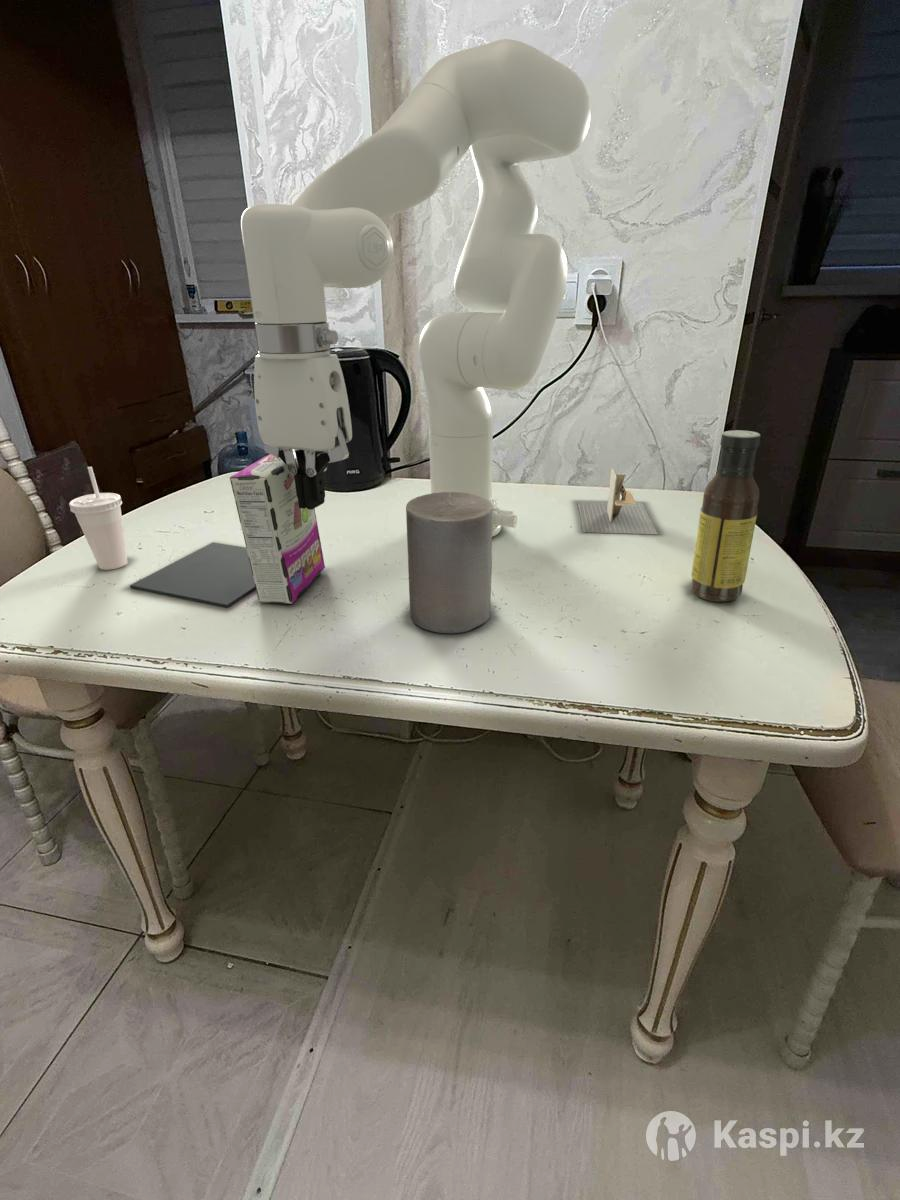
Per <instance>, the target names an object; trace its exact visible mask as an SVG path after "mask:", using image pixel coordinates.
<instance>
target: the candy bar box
mask: <svg viewBox="0 0 900 1200" xmlns="http://www.w3.org/2000/svg"><path fill="white" fill-rule="evenodd" d="M229 481H230V485H231V489H232V493H233V497H234V502H235V506H236V511H237V514H238V518H239V524H240V528H241V531H242V535H243V539H244V544H245V548H246V549H247V553H248V556H249V561H250V566H251V570H252V574H253V579H254V583H255V587H256V589H255V592H256V596H257V599H258V602H259V603H262V604H287V605H293V604H294V603H295V602H296V601H297V600H298V599H299V597H300V596H301V595H303V593H304V592H305V591H306V590H307V589H308V587H309V586H310V585H311V584H312V583H313V582H314V581H315V580H316V578H317V577H318V576H319V575H320V574H321V573H322V572H323V571H324V570H325V568H326V565H325V560H324V554H323V548H322V543H321V537H320V530H319V525H318V519H317V515H316V508H314V509H312V510H310V509H307V508H305V509H303V508H299V504H298V498H297V495H296V487H295V479H294V475H291V474H290V473H289V470H288V467H287V465H286V464H285V463H284V462H283V461H282V460H281V459H280V457H276V456H273V455H270V454H267V455H266V456H264V457H262V458H260V459H258V460H257V461H255V462H253V463H251V464H249V465H248V466H246V467H245V468H243V469H242V470H240V471H238V472H236V473H235V474H233V475H231V476H230V477H229Z"/></svg>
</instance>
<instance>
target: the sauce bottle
mask: <svg viewBox="0 0 900 1200" xmlns="http://www.w3.org/2000/svg"><path fill="white" fill-rule="evenodd" d="M760 442H761V434H760V433H759V432H757V431H751V430H742V429H741V430H740V429H735V430H726V431H723V432H722V433H721V436H720V442H719V444H720V445H719V446H720V448H721V449H720V454H719V461H718V466H717V471H716V473H715V475H714V476H713V477H712V479H711V480H709V482H708V483H707V485H706V486H705V489H704V492H703V496H702V505H701V508H700V512H699V519H698V526H697V534H696V539H695V540H696V541H695V545H694V546H695V548H694V554H693V559H692V560H693V561H692V565H691V566H692V568H691V573H690V574H691V575H690V576H691V582H690V589H691V591H692V593H693V594H694V595H695V596H697V597H699V598H701V599H703V600H706V601H709V602H710V601H711V602H729V601H733V600H736V599H737V598H739V597H740V596H741V595H742V593H743V587H744V583H745V582H746V576H747V571H748V565H749V560H750V553H751V549H752V545H753V538H754V532H755V528H756V521H757V518H758V506H759V501H760V489H759V488H758V484H757V483H756V481H755V478H754V476H753V475H754V471H755V466H754V465H755V461H756V456H757V450H758V449H759V447H760Z"/></svg>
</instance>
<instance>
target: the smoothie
mask: <svg viewBox="0 0 900 1200" xmlns="http://www.w3.org/2000/svg"><path fill="white" fill-rule="evenodd" d="M87 471H88V475H89V478H90V482H91V486H92V489H93V492H94V493H90V494H85V495H82V496H78V497H76V498H74V499H72V500H70V502H68V506H69V508H70V509H69V511H70V512H71V513H73V514H74V515H75V517H76V520H77V522H78V524H79V526H80V528H81V531H82V533H83V535H84V537H85V540H86V542H87V544H88V546H89V549H90V551H91V553H92V555H93V557H94V559H95V561H96V563H97V565H98V568H99V569H100V570H105V571H108V570H109V571H111V570H115V569H119V568H120V569H121V568H122V567H124V566H126V565H127V564H128V555H127V548H126V540H125V532H124V531H125V530H124V524H123V516H122V507H121V506H122V505H123V501H122V497H121V495H120V494H119V493H114V492H100V490H99V487H98V484H97V480H96V476H95V473H94V469H93V466H87Z"/></svg>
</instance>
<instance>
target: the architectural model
mask: <svg viewBox="0 0 900 1200" xmlns="http://www.w3.org/2000/svg"><path fill="white" fill-rule="evenodd" d="M610 469H611V470H610V479H609V487H608V488H609V491H608V497H607V498H608V499H607V502H606V501H599V502H598V501H577V506H578V512H579V516H580V521H581V526H582V530H583V533H595V534H596V533H598V534H599V533H600V534H631V535H633V534H636V535H658V532H657V529H656V528H655V526H654V524H653V522H652V520H651V518H650V515H649V514H648V512H647V510H646V507H645V506H644V504H643V502H636V500H635V498H634V497H633V494H632V492H631V490H626V488H625V485H624V482H625V478H626V473H616V472H615V470H614V468H610Z"/></svg>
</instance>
